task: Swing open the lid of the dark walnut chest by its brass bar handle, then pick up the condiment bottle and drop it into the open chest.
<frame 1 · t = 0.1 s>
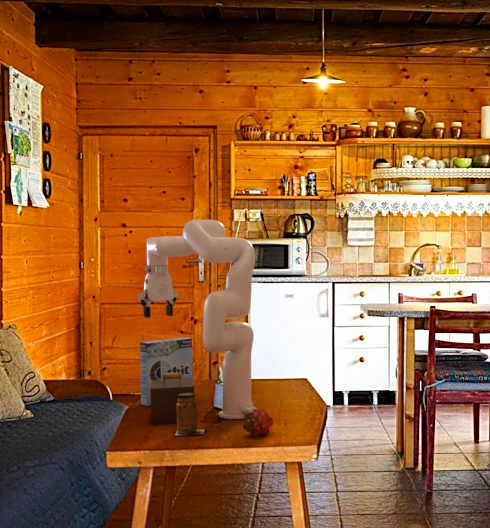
hand: (158, 316, 313), 31 cm above the table, tool pointing down, fingers open, 9 cm apart
condiment: (189, 433, 258), on the table
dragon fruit: (258, 435, 254), on the table
chest: (173, 418, 281), on the table
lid: (172, 377, 280), point 14 cm above the table, hinge at 0.0°
gum box: (167, 402, 310), on the table
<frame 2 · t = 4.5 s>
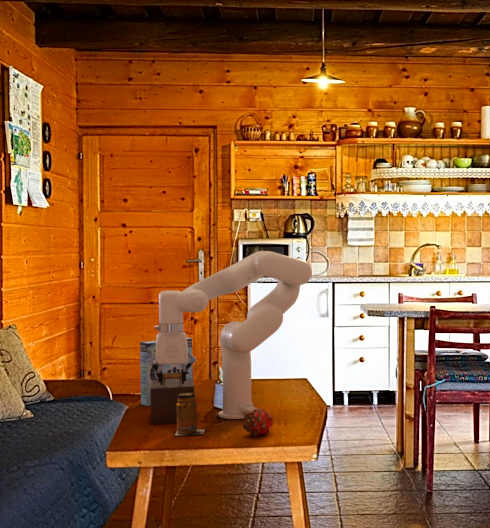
hand: (172, 383, 274), 13 cm above the table, tool pointing down, fingers closed on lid, 6 cm apart
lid: (172, 377, 280), point 14 cm above the table, hinge at 0.0°, touching gripper
everything else where it was.
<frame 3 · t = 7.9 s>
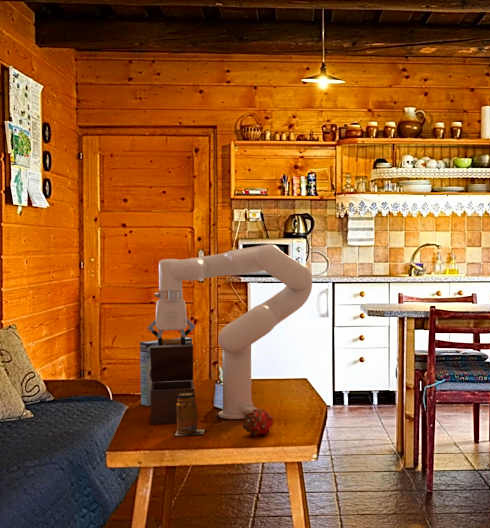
hand: (171, 349, 282), 23 cm above the table, tool pointing down, fingers closed on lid, 6 cm apart
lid: (171, 358, 284), point 19 cm above the table, hinge at 48.1°, touching gripper
everything else where it was.
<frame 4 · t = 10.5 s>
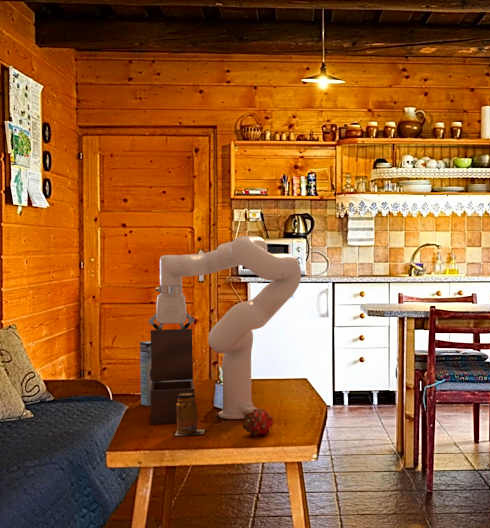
hand: (171, 342, 292), 24 cm above the table, tool pointing down, fingers closed on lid, 6 cm apart
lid: (171, 353, 290), point 20 cm above the table, hinge at 85.3°, touching gripper
everything else where it was.
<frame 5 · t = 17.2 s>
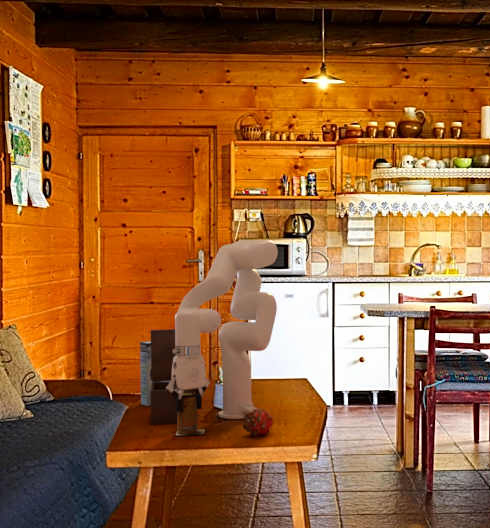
hand: (188, 409, 257), 7 cm above the table, tool pointing down, fingers closed on condiment, 6 cm apart
condiment: (190, 433, 258), on the table, touching gripper
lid: (171, 353, 290), point 20 cm above the table, hinge at 85.4°
everything else where it was.
when the fingers open (17 cm above the table, at t = 23.6 s): condiment drops 9 cm, resting on chest.
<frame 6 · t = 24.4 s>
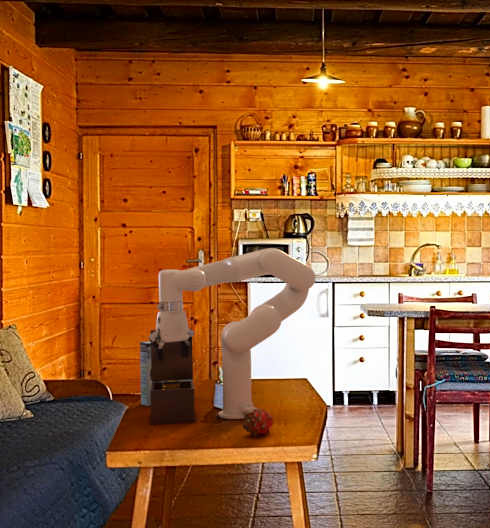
hand: (172, 359, 277), 20 cm above the table, tool pointing down, fingers open, 9 cm apart
condiment: (174, 417, 278), point 1 cm above the table, touching chest
everything else where it was.
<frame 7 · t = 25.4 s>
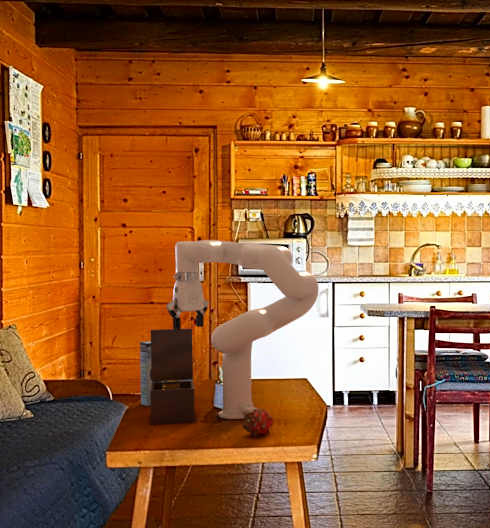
hand: (188, 327, 287), 29 cm above the table, tool pointing down, fingers open, 9 cm apart
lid: (171, 353, 290), point 20 cm above the table, hinge at 87.0°
everything else where it was.
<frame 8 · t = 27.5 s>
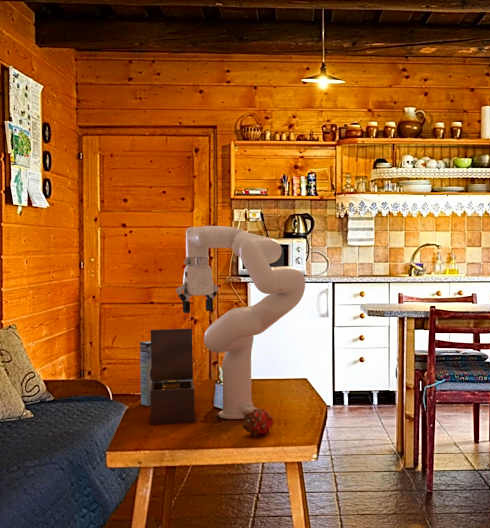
hand: (198, 311, 293), 34 cm above the table, tool pointing down, fingers open, 9 cm apart
nothing on the table moved.
at the end: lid at +87° (first picture: +0°); condiment inside the target area in the chest (2.8 cm from its centre), point 0.7 cm above the chest's base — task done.
